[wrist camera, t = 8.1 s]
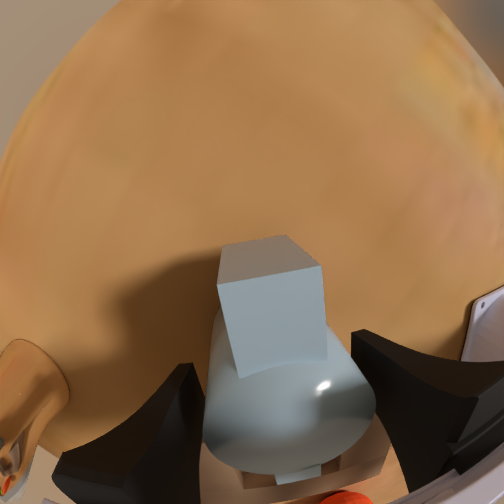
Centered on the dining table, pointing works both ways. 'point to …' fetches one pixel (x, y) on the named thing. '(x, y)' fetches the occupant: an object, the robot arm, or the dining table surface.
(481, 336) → the robot arm
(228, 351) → the grey tabbed rounded part
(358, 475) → the dock
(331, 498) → the clementine
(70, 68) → the dining table surface
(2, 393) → the beer glass
